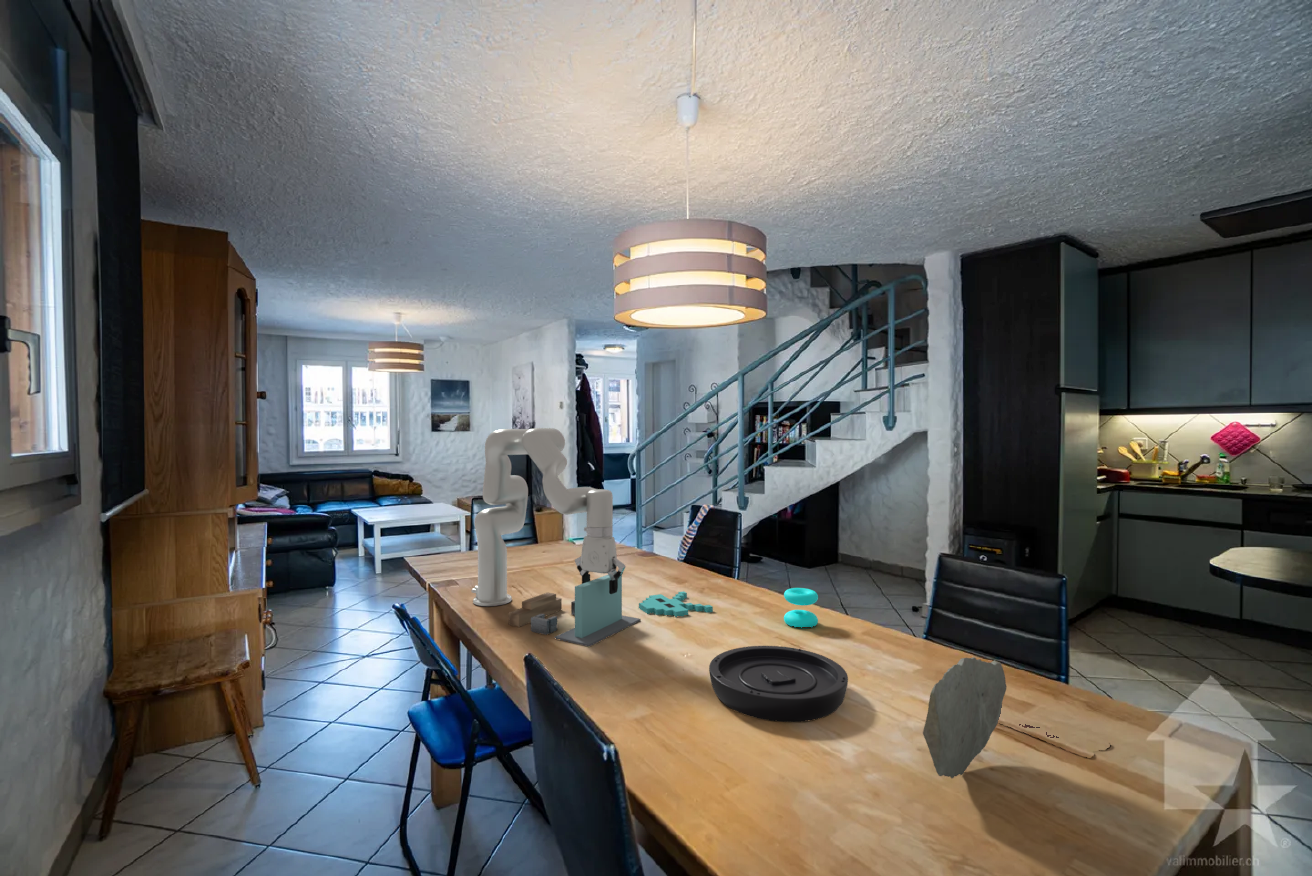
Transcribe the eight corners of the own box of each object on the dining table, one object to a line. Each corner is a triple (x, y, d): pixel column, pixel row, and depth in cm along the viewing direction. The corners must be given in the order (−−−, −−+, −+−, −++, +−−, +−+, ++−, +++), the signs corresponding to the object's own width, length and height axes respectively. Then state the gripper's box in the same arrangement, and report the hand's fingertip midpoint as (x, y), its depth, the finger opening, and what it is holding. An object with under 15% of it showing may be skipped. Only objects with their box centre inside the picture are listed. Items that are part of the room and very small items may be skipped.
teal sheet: (574, 636, 170) (574, 586, 170) (614, 617, 188) (615, 572, 188) (581, 638, 169) (581, 587, 169) (621, 618, 186) (621, 573, 186)
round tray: (797, 661, 155) (688, 677, 145) (797, 638, 155) (688, 652, 144) (878, 713, 127) (749, 738, 116) (878, 684, 127) (749, 706, 116)
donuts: (824, 591, 183) (805, 597, 177) (824, 624, 183) (805, 632, 177) (796, 585, 191) (777, 590, 184) (796, 617, 191) (777, 623, 184)
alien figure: (683, 597, 214) (631, 604, 206) (683, 591, 214) (631, 597, 206) (712, 613, 196) (656, 621, 188) (712, 606, 196) (656, 614, 187)
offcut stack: (508, 626, 182) (508, 606, 182) (551, 608, 200) (551, 590, 200) (518, 628, 180) (518, 607, 180) (561, 610, 198) (561, 592, 198)
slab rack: (530, 631, 176) (530, 617, 176) (580, 611, 196) (580, 598, 196) (546, 635, 174) (546, 620, 173) (595, 613, 194) (595, 601, 193)
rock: (971, 738, 116) (972, 633, 116) (1008, 750, 111) (1009, 641, 111) (913, 797, 97) (914, 672, 97) (954, 815, 93) (955, 684, 92)
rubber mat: (554, 638, 170) (554, 636, 170) (608, 614, 193) (608, 612, 193) (589, 646, 164) (589, 644, 164) (640, 620, 187) (640, 618, 187)
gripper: (568, 531, 179) (568, 589, 179) (617, 536, 170) (616, 598, 171) (583, 527, 186) (583, 584, 186) (631, 533, 177) (631, 592, 177)
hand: (599, 590), depth 178 cm, fingers open, 9 cm apart
